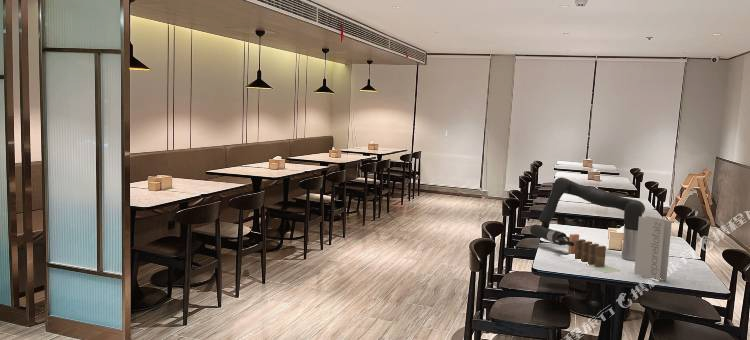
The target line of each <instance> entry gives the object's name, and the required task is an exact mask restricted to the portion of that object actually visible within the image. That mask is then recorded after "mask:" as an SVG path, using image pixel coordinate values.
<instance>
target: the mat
mask: <svg viewBox="0 0 750 340" xmlns="http://www.w3.org/2000/svg"><path fill="white" fill-rule="evenodd" d="M588 267H590V268H592V269H594V270H597V271H599V272H603V273H615V272H616V273H617V272H622V270H621V269H617V268H615V267H612V266H609V265H606V264H605V266H604V267H595V266H594V265H589V266H588Z"/></svg>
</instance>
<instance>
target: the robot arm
mask: <svg viewBox="0 0 750 340" xmlns="http://www.w3.org/2000/svg"><path fill="white" fill-rule="evenodd" d="M564 194H566V195H570V196H576V197H577V198H579V199H580V198H581V199H582V200H584V201H586V202H588V203H591V204H594V205H596V206H600V207H605V208H612V209H616V210H620V211H623V213H624V214H623V225H624V226H623V236H622V237H623V238H622V247H621V248H622V249H621V250H622V251H621V258H622V259H623V260H627V261H634V262H635V259H636V247H637V235H638V223H639V217H643V214H644V213H645V211H646V208H645V207H646V205H644V203H643V202H642V201H640V200H637V199H633V198H628V197H623V196H620V195H617V194H615V193H612V192H610V191H607V190H604V189H601V188H598V187H594V186H591V185H589V186H588V185H584V184H579V183H577V182H575V181H572V180H570V179H568V178H565V177H558V178H557V179H555V180H554V182H553V185H552V188H551V191H550V194H549V197H548V199H547V202H546V203H545V206H544V207H543V209H542V211H541V213H540V215H539V217H538V221H539V222H540V223H541V225H539V224H538V223H537V224H533V225H531V226H530V227H529V228H530V229H529V233H530V234H531V235H532V236H535V237H538V238H540V239H543V240H545V241H549V242H550V243H553V244H556V245H558V246H565V245H566V246H569V245H570V246H574V243H573V242H570V241H569V236H567V234H566V233H565V232H562V231H559V230H555V229H552V228H550V224H551V221H552V220H553V218H554V216H555V214H556V211H557V207H558V204H559V202H560V199H561V198H562V197H563V195H564Z"/></svg>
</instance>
